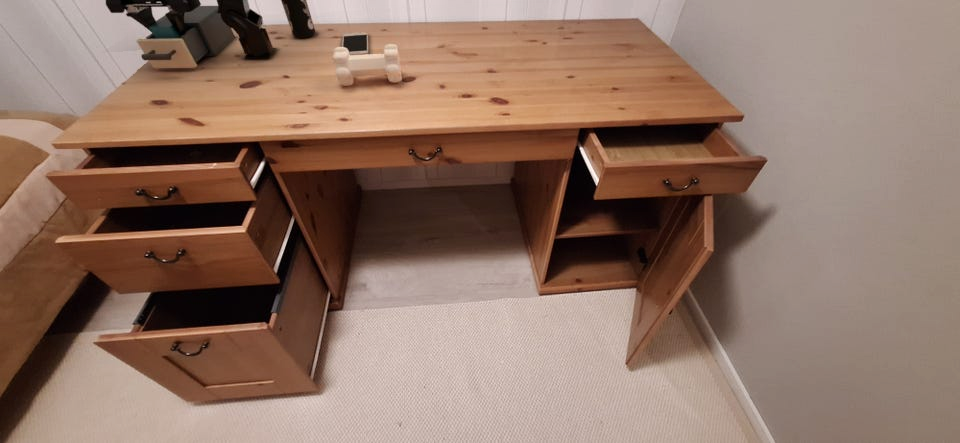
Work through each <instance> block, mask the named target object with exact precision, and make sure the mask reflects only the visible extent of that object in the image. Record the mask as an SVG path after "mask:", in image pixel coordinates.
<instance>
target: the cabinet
mask: <svg viewBox="0 0 960 443" xmlns="http://www.w3.org/2000/svg"><path fill="white" fill-rule="evenodd" d="M217 11H218V5H200V6H199V7H197V8H196V9H194V10H193V11H191V12H185V14H184V24H185V26H197V27H198V29H199V31H200V33H201V35H202V37H203V39H204V41H205V43H206V45H207V47H208V49H209V50H210V51H208V52H207V53H206V54H205V55H204V56H203V57H216V56H217V55H218V54H219V53H220V52H222V50H224V49H225V48H226V47H227V46H228V45H229V44H230V43H231V42H232V41H233V40H234V39H235V38H236V36H235V34H234V31H233V28H231V27H229V26H227V25H226V24H225V23H224V22H223V20H222V18H221V13H219V14H218V13H217ZM159 20H168V18H167V17H166V15H165V14H164V15H163V16H161V17H160V18H158V19H157V20H156V22H158V21H159Z"/></svg>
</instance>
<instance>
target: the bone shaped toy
mask: <svg viewBox="0 0 960 443" xmlns="http://www.w3.org/2000/svg"><path fill="white" fill-rule="evenodd" d="M332 61H333V66H334V74H335V77H337V79H338V83H339V84H340V85H341V86H343V87H349V86H352V85H353V84H354V82H355V81H354V79H355V77H372V76H387V79H388V81H389V82H390V83H392V84H395V83H400V82H401V81H402V80H403V77H402V72H403V71H402V67H401V55H400V53H399V47H398V46H397V44H395V43H388V44H385V46H384V47H383V53H369V54H366V55H350V54H349V51H348V49H347V48H345V47H342V46H337V47H335V48H334V49H333V55H332Z"/></svg>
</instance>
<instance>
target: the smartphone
mask: <svg viewBox="0 0 960 443" xmlns="http://www.w3.org/2000/svg"><path fill="white" fill-rule="evenodd" d="M341 42H342V43H341V47H345V48H347V49H348V51H349V54H350V55H366V54H370V52H369V33H368V32H367V31H365V32H351V33H350V32H349V33H343V34H342V41H341Z"/></svg>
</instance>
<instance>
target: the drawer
mask: <svg viewBox="0 0 960 443" xmlns="http://www.w3.org/2000/svg"><path fill="white" fill-rule="evenodd" d="M185 29H186V31H187V32H186V33H185V34H183V35H182V36H181V37H180V39H156V38H155V36H154V34H153V33H152V32H151V33H150V34H148V35H147V36H146V37H145V38H138V39H136V43H137V44H138V46H139V48H140V49H141V51H142V54H141V55H140V56H141V57H140V58H141V59H142V60H143V61H148V62H149V64H150V65H151V67H152V69H188V68H189V69H194V68H197V67H198V64H197V63H198V62H199V61H200V60H201V59H202V58H203V57H205V56H204V55H205V54H206V53H207V52H208V51H210V50H209V49H208V47H207V45H206V43H205V41H204V39H203V37H202V35H201V33H200V31H199V29H198V27H197V26H185Z"/></svg>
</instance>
